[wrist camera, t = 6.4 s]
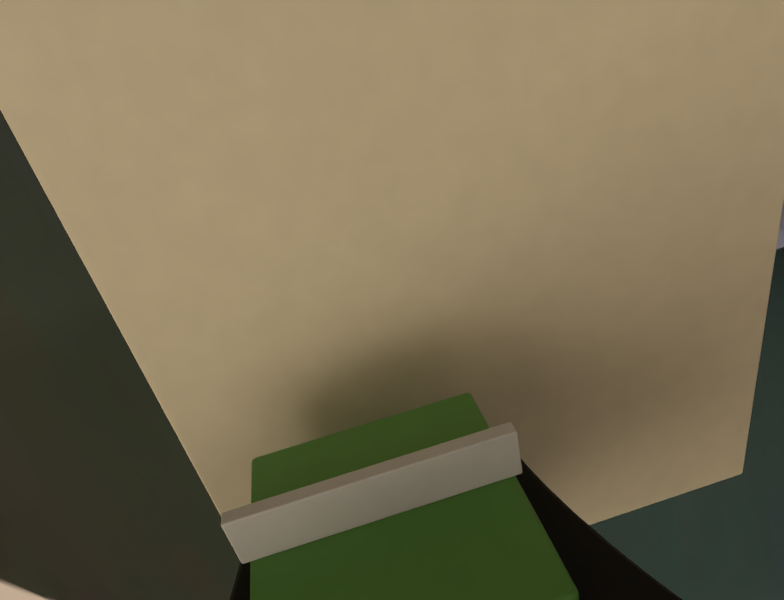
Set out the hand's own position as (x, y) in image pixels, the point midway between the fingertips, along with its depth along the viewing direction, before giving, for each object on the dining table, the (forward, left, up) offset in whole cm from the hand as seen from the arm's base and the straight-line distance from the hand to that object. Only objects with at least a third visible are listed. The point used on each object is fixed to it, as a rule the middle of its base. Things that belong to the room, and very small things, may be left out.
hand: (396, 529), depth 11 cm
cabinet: (-3, -3, -10) cm, 11 cm away
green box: (0, 0, 0) cm, 0 cm away
